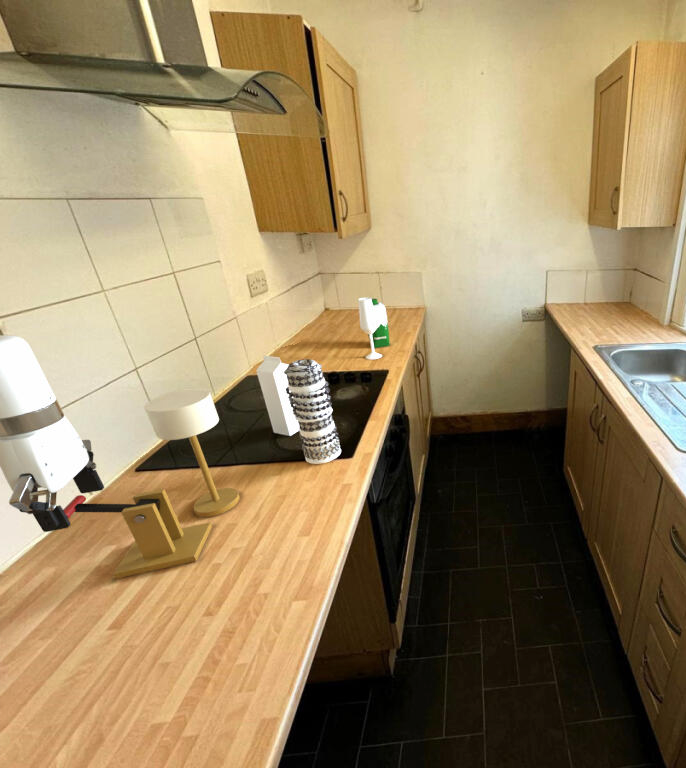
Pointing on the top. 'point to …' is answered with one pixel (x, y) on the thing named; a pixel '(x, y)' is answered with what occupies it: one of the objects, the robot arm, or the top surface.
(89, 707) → the top surface
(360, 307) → the champagne flute
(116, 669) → the top surface
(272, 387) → the milk
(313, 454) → the decorative candle
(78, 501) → the switch lever
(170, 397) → the table lamp
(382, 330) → the milk carton
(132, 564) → the switch bracket
